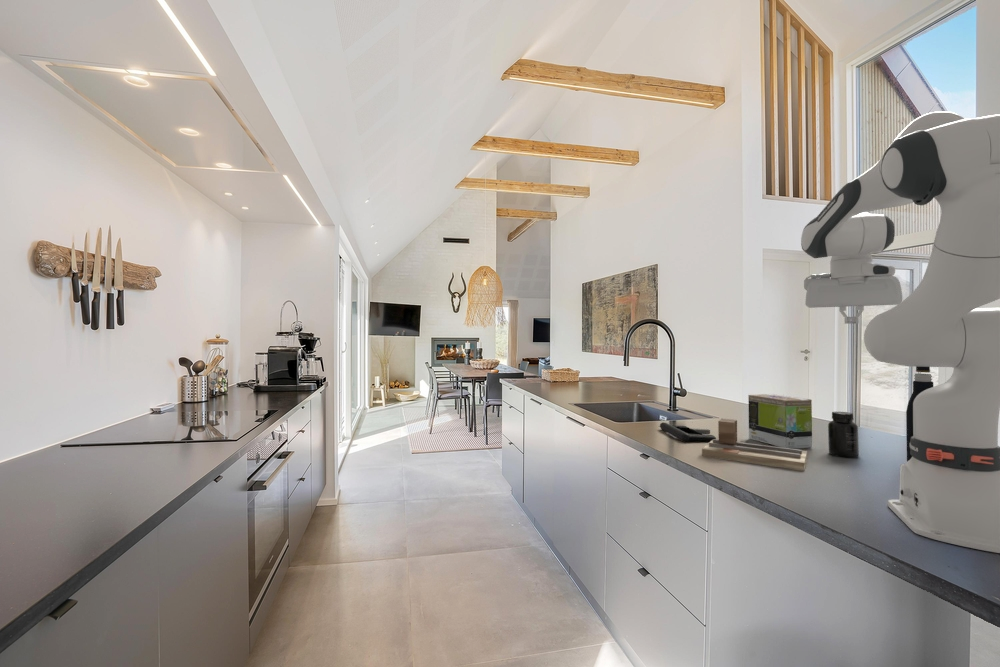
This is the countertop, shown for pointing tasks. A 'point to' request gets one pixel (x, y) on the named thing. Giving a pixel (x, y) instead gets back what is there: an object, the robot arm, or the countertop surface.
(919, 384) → the black water bottle
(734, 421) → the fader knob
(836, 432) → the supplement bottle
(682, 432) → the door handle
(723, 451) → the slider board
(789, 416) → the tea box
